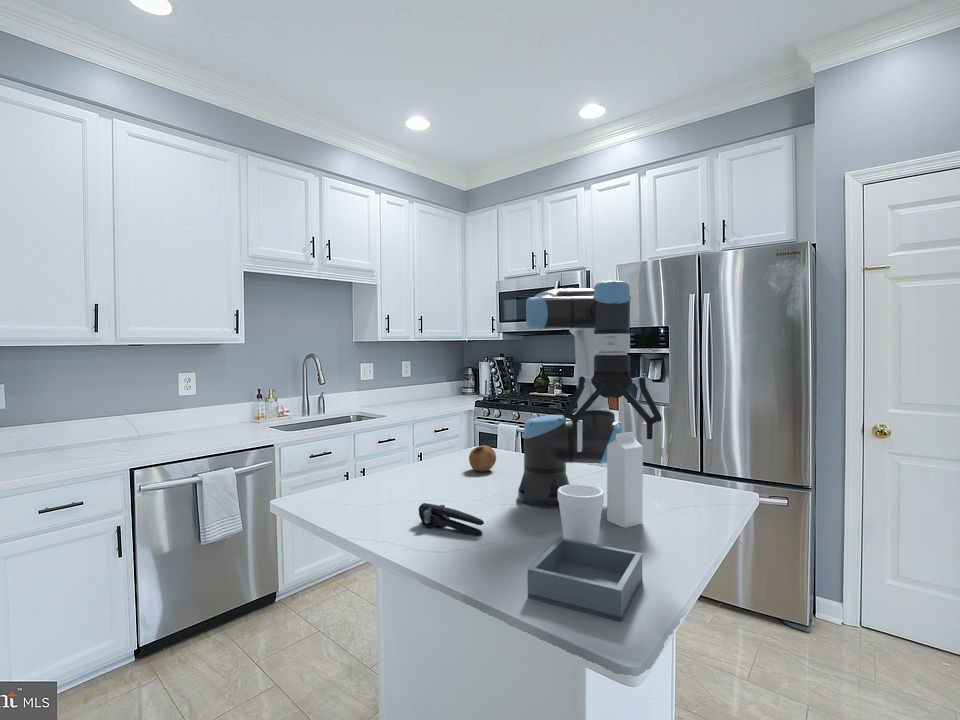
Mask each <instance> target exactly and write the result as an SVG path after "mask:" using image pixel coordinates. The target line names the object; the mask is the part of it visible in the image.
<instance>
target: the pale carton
mask: <svg viewBox="0 0 960 720" xmlns="http://www.w3.org/2000/svg"><path fill="white" fill-rule="evenodd" d="M643 460H644V457H643V444H641V443H640V442H639V441H638V440H637V439H636V438H635V433H634V431H627V432H622V433H619V434H616V440H615V441H613V442H612V443H610V444H608V445H607V463H606V465H607V466H606V467H607V469H606V471H607V473H606V475H607V477H606V478H607V481H606V482H607V483H606V486H607V487H606V489H607V490H606V497H607V499H606V504H607V505H606V506H607V507H606V511H607V512H606V513H607V514H606V521H607V522H610V523H611V524H615V525H617V526H619V527H621V528H624V529H626V528H630V527H634V526H635V527H636V526H639V525H642V524H643V522H644V520H643V519H644V518H643V514H644V513H643V511H644V509H643V507H644V506H643V504H644V503H643V497H644V496H643V495H644V493H643V491H644V490H643V488H644V487H643V486H644V485H643V484H644V480H643V478H644V477H643V476H644V472H643V471H644V469H643V467H644V463H643Z"/></svg>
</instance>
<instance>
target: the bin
mask: <svg viewBox="0 0 960 720" xmlns="http://www.w3.org/2000/svg"><path fill="white" fill-rule="evenodd" d="M642 581H643V553H642V552H636V551H633V550H632V551H631V550H626V549H622V548H618V547H617V548H616V547H611V546H605V545H601V544H597V545H596V544H591V543H585V542H580V541H575V540H569V539H564V537H563V538H562V537H559V538H558V539H557V540H556V541H555V542H554V543H553V544H552V545H551V546H550V547H549V548H548V549H547V550H546V551H545V552H544V553H543V554H541V555H540V556H539V558H538V559H536V560H535V561H534V562H533V563H532V564H531V565H530V566H529V567H528V568H527V598H528V599H531V600H536V601H539V602H543V603H546V604H547V603H548V604H551V605H556V606H558V607H561V608H566V609H570V610H572V611H573V610H574V611H578V612H582V613H585V614H588V615H589V614H590V615H593V616H597V617H600V618H604V619H605V618H606V619H609V620H612V621H616V622H621V623H622V621H623V619H624V617H625V615H626V613H627V611H628V610H629V607H630V605H631V603H632V601H633V600H634V597H635V596H636V593H638V590H639V588H640V586H641V583H642Z"/></svg>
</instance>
